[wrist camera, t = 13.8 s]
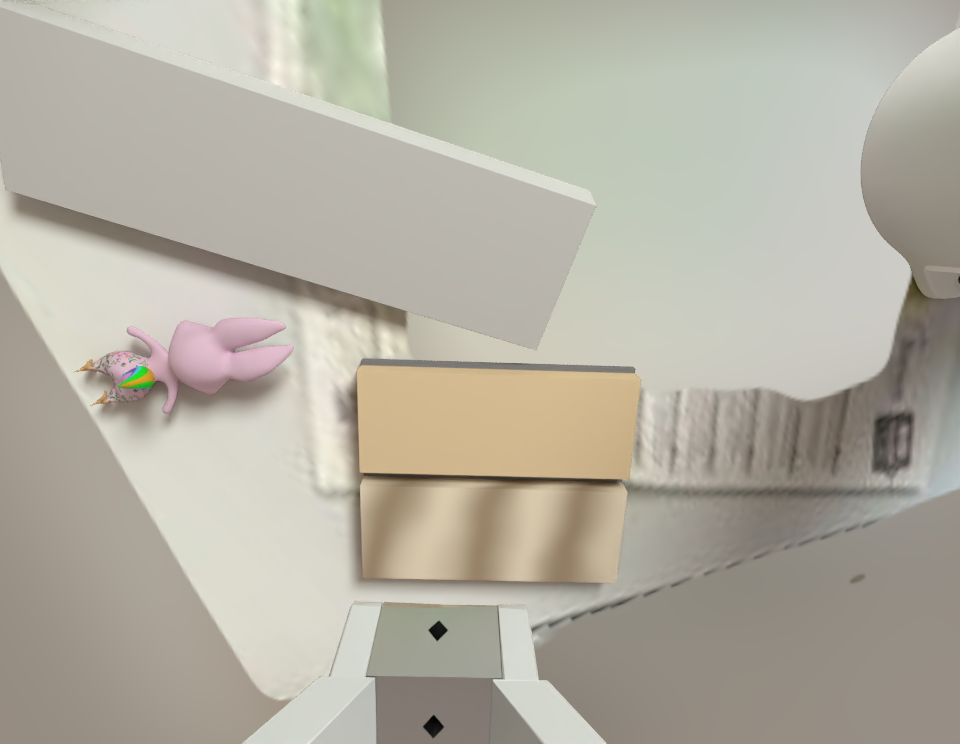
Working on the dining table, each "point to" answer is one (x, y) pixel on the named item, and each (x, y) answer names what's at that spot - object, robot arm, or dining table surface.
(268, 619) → the dining table surface
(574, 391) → the laid floor
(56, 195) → the decorative molding
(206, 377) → the rabbit figure
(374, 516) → the ash plank
